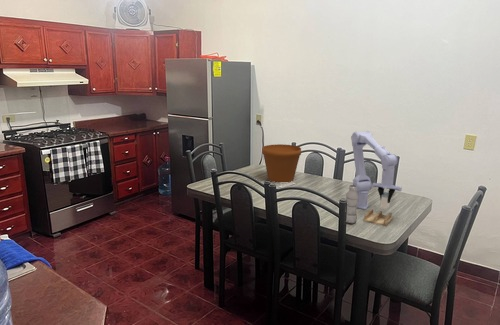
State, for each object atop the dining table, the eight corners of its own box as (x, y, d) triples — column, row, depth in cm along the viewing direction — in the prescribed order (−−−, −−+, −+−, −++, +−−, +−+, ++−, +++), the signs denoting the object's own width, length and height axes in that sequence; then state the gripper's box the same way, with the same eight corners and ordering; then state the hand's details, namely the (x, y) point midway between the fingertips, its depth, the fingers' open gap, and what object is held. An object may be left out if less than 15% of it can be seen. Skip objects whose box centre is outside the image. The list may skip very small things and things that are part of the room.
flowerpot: (292, 187, 249) (293, 153, 243) (255, 181, 260) (256, 149, 255) (304, 177, 273) (306, 146, 267) (270, 172, 285) (271, 143, 279)
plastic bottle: (354, 219, 193) (357, 184, 188) (358, 224, 187) (361, 188, 182) (342, 219, 193) (344, 184, 188) (346, 225, 186) (348, 188, 182)
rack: (362, 221, 192) (363, 215, 191) (370, 213, 202) (370, 208, 201) (386, 226, 185) (386, 220, 184) (392, 218, 196) (392, 213, 195)
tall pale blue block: (380, 208, 192) (381, 195, 190) (383, 204, 198) (384, 191, 196) (386, 209, 190) (387, 196, 188) (389, 205, 196) (390, 192, 194)
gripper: (371, 176, 191) (369, 201, 194) (400, 181, 183) (398, 206, 186) (375, 174, 196) (373, 197, 199) (403, 178, 189) (400, 202, 192)
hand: (385, 201), depth 193 cm, fingers closed on tall pale blue block, 3 cm apart
